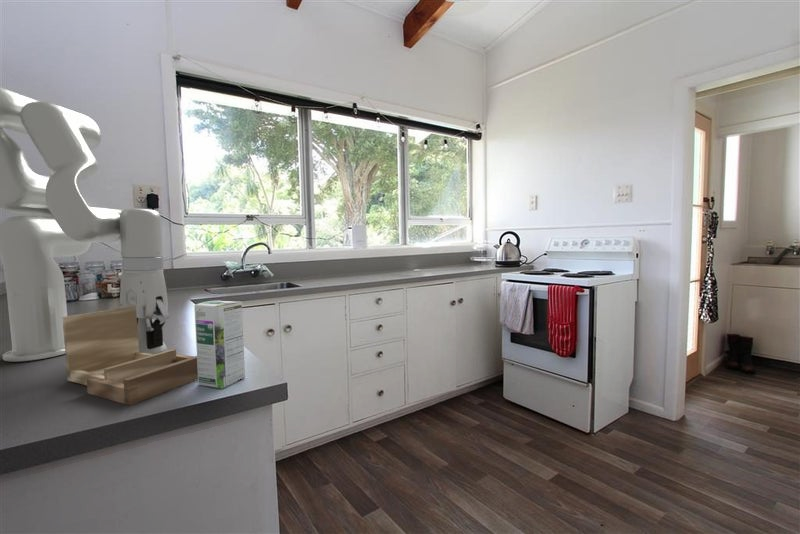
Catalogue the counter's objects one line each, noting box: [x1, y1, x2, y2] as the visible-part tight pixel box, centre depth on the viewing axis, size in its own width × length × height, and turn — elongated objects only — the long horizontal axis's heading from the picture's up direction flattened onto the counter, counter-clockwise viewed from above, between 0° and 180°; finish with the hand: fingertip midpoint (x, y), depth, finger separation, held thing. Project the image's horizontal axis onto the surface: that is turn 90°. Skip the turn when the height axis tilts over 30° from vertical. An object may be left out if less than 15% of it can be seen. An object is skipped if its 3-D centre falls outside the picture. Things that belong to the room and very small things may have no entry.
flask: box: [137, 314, 169, 354], centre depth 83 cm, size 7×7×10 cm
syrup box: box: [194, 300, 246, 390], centre depth 66 cm, size 6×6×14 cm
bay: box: [86, 352, 198, 407], centre depth 66 cm, size 12×15×4 cm
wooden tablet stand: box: [62, 306, 177, 386], centre depth 70 cm, size 13×12×12 cm
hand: (147, 345), depth 83 cm, fingers closed on flask, 4 cm apart
